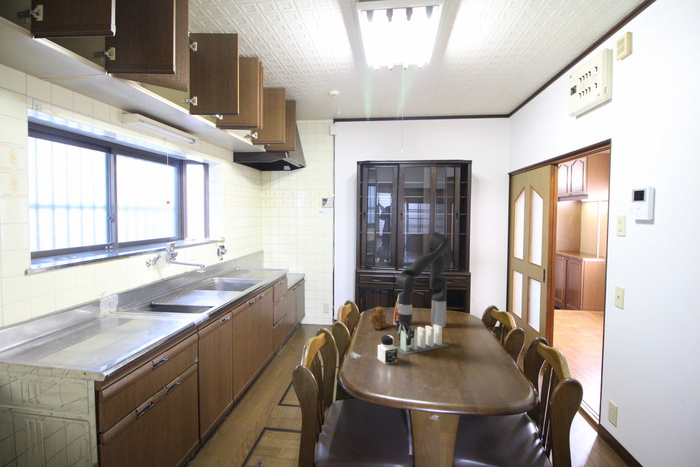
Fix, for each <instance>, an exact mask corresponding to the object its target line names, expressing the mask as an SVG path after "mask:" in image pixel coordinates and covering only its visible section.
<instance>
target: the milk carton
mask: <svg viewBox="0 0 700 467" xmlns="http://www.w3.org/2000/svg"><path fill="white" fill-rule="evenodd" d="M398 305H399V293H397V300H396V303H395V307H394V314H393V323H392V325H393V326H394V325H395V326H396V320H398Z"/></svg>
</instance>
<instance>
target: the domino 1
mask: <svg viewBox="0 0 700 467" xmlns="http://www.w3.org/2000/svg"><path fill="white" fill-rule="evenodd" d="M407 332H409V331H407ZM408 336H409V334H408ZM399 346H400V348H401V349H403V350H404V351H409V345H407V336H406V334H405V332H404V331H403V330H401V341H400V345H399Z"/></svg>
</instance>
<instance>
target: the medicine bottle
mask: <svg viewBox="0 0 700 467" xmlns="http://www.w3.org/2000/svg"><path fill="white" fill-rule="evenodd" d="M380 340H381V341H380V342H381V344H378V345H377V360H378V361H380V362H382V363H383V364H384V365H389V364H394V363H397V362H398V351H397V346H395V345H394V344H395V338H394V337H393V336H392V335H391V334H390V335H388V334H385V335H382V336H381V338H380Z"/></svg>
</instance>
